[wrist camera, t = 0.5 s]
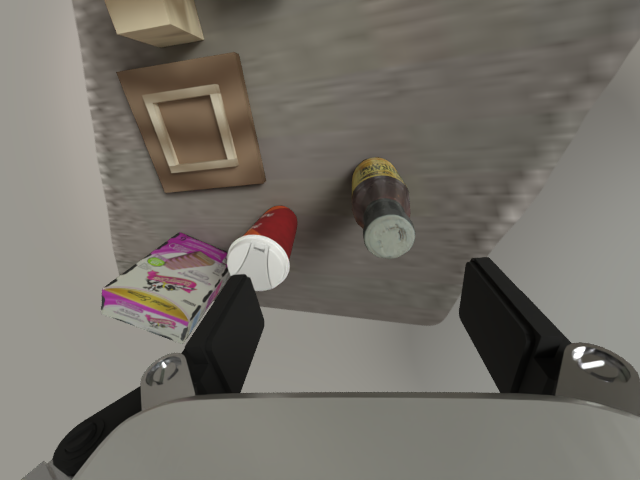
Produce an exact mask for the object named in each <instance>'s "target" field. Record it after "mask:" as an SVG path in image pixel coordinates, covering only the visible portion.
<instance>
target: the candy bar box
mask: <svg viewBox="0 0 640 480" xmlns="http://www.w3.org/2000/svg"><path fill="white" fill-rule="evenodd" d="M227 254H228V252H225V251H223V250H221V249H218V248H216V247H213V246H211V245H209V244H206V243H204V242H202V241H199V240H197V239H194V238H192V237H190V236H187V235H185V234H183V233H180V232H179V233H178V234H176V235H175V236H173V237H172V238H171V239H169V240H168V241H167V242H165V243H164V244H162V245H161V246H160V247H158V248H157V249H156V250H154V251H153V252H151V253H150V254H149V255H148V256H146V257H145V258H144V259H142V260H141V261H139V262H138V263H136V264H135V265H134V266H132V267H131V268H130V269H128V270H127V271H126V272H124V273H123V274H122V275H120V276H119V277H117V278H116V279H115V280H113V281H112V282H110V283H109V284H108V285H106V286H105V287H104V288H103V289H102V306H101V314H104V315H106V316H109V317H112V318H115V319H117V320H120V321H123V322H125V323H128V324H130V325H133V326H136V327H138V328H141V329H144V330H146V331H149V332H152V333H154V334H157V335H159V336H162V337H165V338H168V339H170V340H173V341H175V342H178V343H180V344H183V343H184V342H185V340H186V339H187V338H188V336H189V335H190V333H191V332H192V330H193V328H194V327H195V326H196V325H197V323H198V322H199V321H200V319H201V318H202V316H203V315H204V313H205V312H206V310H207V309H208V307H209V306H210V304H211V303H212V302H213V300H214V299H215V297H216V296H217V294H218V293H219V292H220V290H221V289H222V287H223V286H224V284H225V283H226V282H227V280H228V279H229V277H230V276H231V275H230V273H229V270H228V267H227Z"/></svg>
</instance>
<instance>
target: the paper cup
mask: <svg viewBox="0 0 640 480" xmlns="http://www.w3.org/2000/svg"><path fill="white" fill-rule="evenodd" d="M296 229H297V218H296V215H295V214H294V213H293V211H292V210H290V209H289V208H287V207H284V206H274V207H272V208H270V209H269V210H268V211H267V212H266V213H264V215H263V216H262V217H261V218H260V219H259V220H258V221H257V222H256V223H255V224H254V225H253V226H252V227H251V228H250V229H249V230H248V231H247V232H246V233H245V234H244V235H243V237H240V238H238V239H237V240H235V241H234V242H233V243H232V245H231V246H230V248H229V250H228V254H227V267H228V270H229V273H230V275H231V276H232V275H237V274H246V275H247V277H250V278H251V281H252V284H253V287H254V290H255V291H265V290H269V289H272V288H275V287H276V286H277V285H278V284H280V283H281V282H283V281H284V280H285V278H286V277H287V275H288V272H289V268H290V266H289V258H290V254H291V250H292V246H293V242H294V238H295V234H296Z"/></svg>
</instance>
